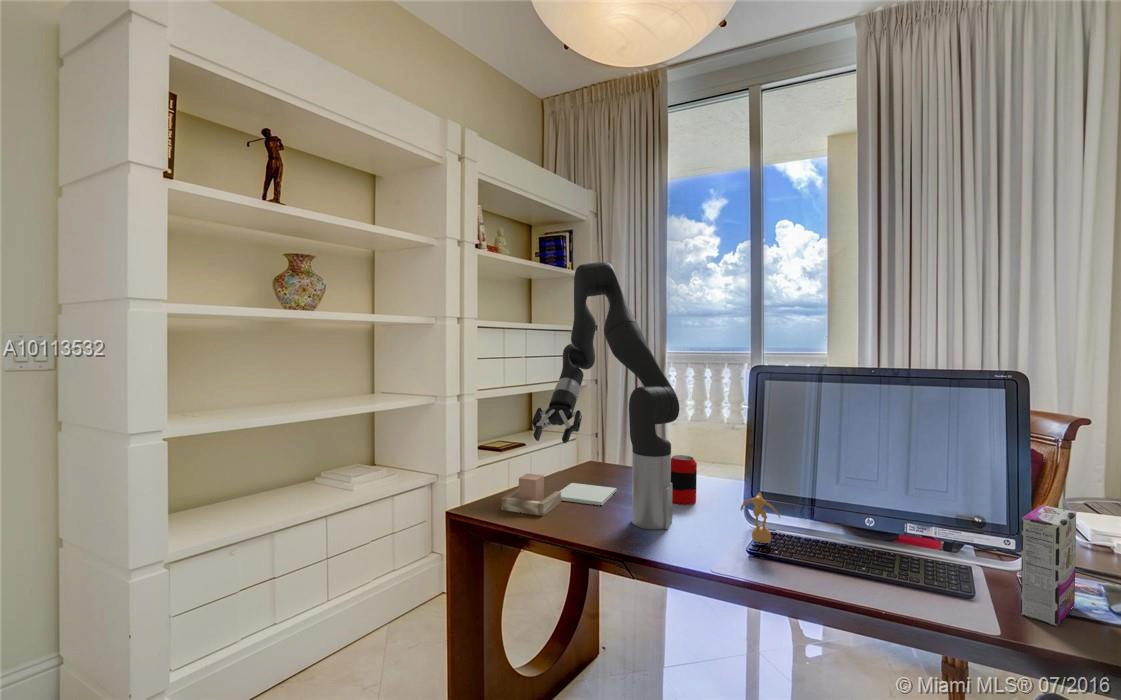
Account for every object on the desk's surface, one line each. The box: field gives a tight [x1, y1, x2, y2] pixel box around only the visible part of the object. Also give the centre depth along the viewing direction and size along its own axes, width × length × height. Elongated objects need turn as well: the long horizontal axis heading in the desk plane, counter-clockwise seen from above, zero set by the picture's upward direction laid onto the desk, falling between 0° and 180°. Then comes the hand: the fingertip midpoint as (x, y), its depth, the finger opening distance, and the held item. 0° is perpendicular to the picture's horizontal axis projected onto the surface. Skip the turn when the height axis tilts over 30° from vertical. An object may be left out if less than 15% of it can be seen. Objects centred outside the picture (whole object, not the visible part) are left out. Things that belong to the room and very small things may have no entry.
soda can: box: [671, 454, 698, 506], centre depth 148 cm, size 8×8×12 cm
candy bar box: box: [1020, 504, 1077, 627], centre depth 89 cm, size 11×5×16 cm, turn 126°
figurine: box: [740, 492, 781, 544], centre depth 116 cm, size 8×6×12 cm
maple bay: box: [500, 487, 562, 517], centre depth 142 cm, size 12×12×3 cm
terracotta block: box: [518, 473, 545, 502], centre depth 142 cm, size 5×5×8 cm
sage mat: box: [559, 482, 618, 506], centre depth 152 cm, size 14×14×1 cm
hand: (550, 440), depth 153 cm, fingers open, 8 cm apart
